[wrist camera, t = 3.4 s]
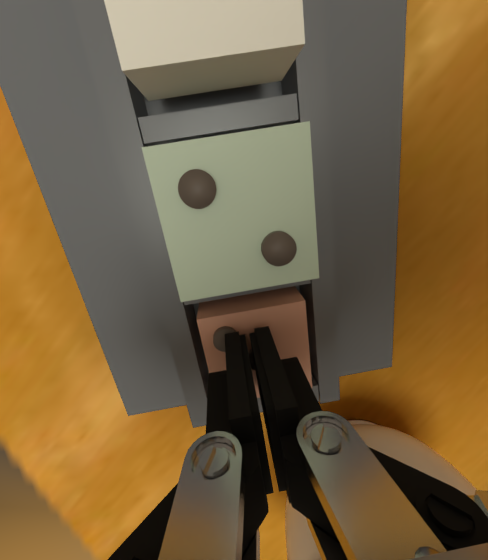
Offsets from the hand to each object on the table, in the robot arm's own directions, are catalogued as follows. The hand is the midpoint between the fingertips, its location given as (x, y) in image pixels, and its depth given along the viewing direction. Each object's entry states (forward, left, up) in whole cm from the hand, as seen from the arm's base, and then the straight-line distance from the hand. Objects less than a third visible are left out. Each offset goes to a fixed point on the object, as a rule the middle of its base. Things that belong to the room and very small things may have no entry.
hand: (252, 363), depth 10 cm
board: (0, -6, -4) cm, 7 cm away
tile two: (0, -6, -1) cm, 6 cm away
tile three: (0, 0, -3) cm, 3 cm away
